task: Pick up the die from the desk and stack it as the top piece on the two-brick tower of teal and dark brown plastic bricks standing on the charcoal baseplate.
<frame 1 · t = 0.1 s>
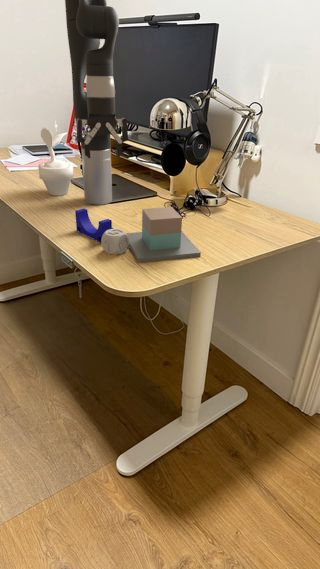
hand: (103, 157, 115), 17 cm above the table, tool pointing down, fingers open, 8 cm apart
brick tower: (160, 246, 104), on the table
die: (115, 251, 101), on the table
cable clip: (96, 236, 109), on the table
potted plant: (59, 193, 140), on the table
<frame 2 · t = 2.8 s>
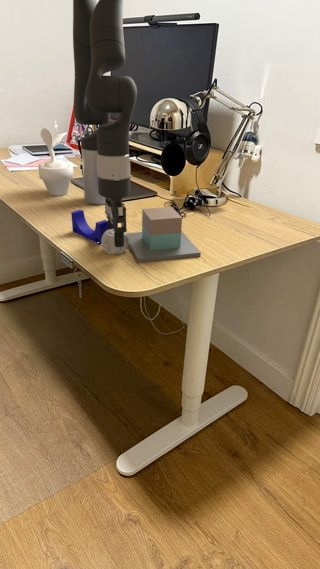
hand: (115, 239, 99), 3 cm above the table, tool pointing down, fingers open, 8 cm apart
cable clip: (92, 237, 108), on the table, touching gripper
everything else where it was.
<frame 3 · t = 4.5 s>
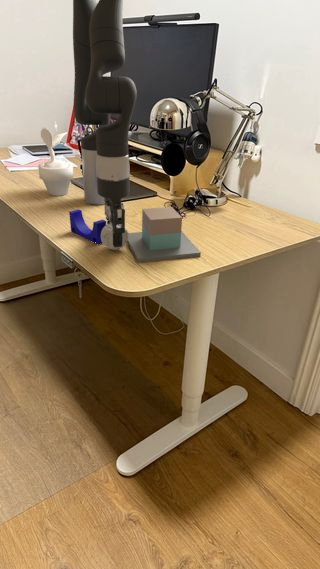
hand: (114, 240, 100), 3 cm above the table, tool pointing down, fingers closed on die, 7 cm apart
die: (114, 246, 100), point 1 cm above the table, touching gripper
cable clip: (90, 237, 108), on the table
everything else where it was.
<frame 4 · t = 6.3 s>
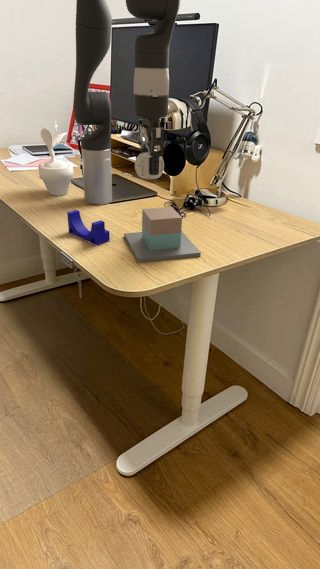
hand: (149, 170, 93), 20 cm above the table, tool pointing down, fingers closed on die, 7 cm apart
die: (149, 177, 94), point 18 cm above the table, touching gripper
everything else where it was.
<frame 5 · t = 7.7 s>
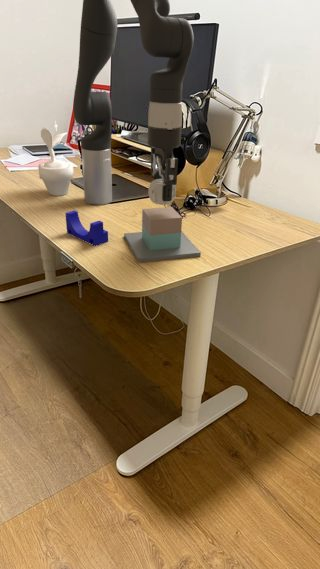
hand: (162, 196, 97), 13 cm above the table, tool pointing down, fingers closed on die, 7 cm apart
die: (161, 202, 98), point 12 cm above the table, touching gripper
when the fingers open (11 cm above the table, at t = 9.1 s): die stays where it is, resting on brick tower.
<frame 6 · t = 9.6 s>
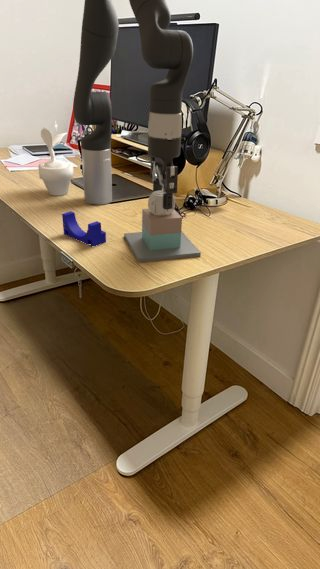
hand: (162, 203, 98), 12 cm above the table, tool pointing down, fingers open, 8 cm apart
die: (161, 213, 100), point 9 cm above the table, touching brick tower
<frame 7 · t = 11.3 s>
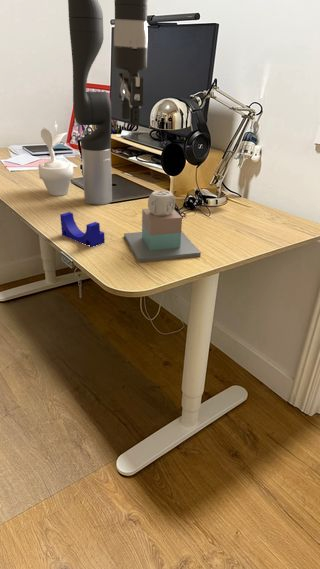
hand: (130, 122, 97), 29 cm above the table, tool pointing down, fingers open, 8 cm apart
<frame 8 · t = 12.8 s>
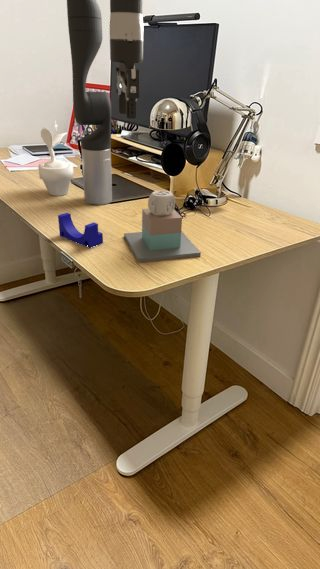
hand: (127, 115, 97), 30 cm above the table, tool pointing down, fingers open, 8 cm apart
at the end: die 0.2 cm off-centre on the brick tower, point 8.8 cm above the brick tower's base; the gripper is holding nothing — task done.
